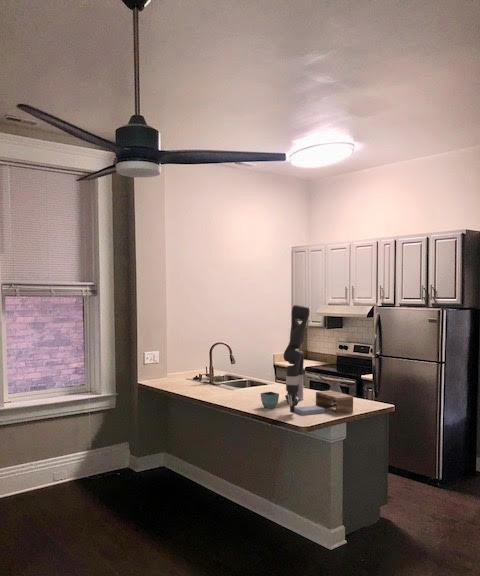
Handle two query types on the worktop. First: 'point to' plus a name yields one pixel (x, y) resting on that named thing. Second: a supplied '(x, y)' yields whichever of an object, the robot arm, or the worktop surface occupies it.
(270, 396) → the flower pot
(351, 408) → the brown cardboard box
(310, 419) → the worktop surface
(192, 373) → the worktop surface
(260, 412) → the worktop surface
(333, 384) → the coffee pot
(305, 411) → the panel
